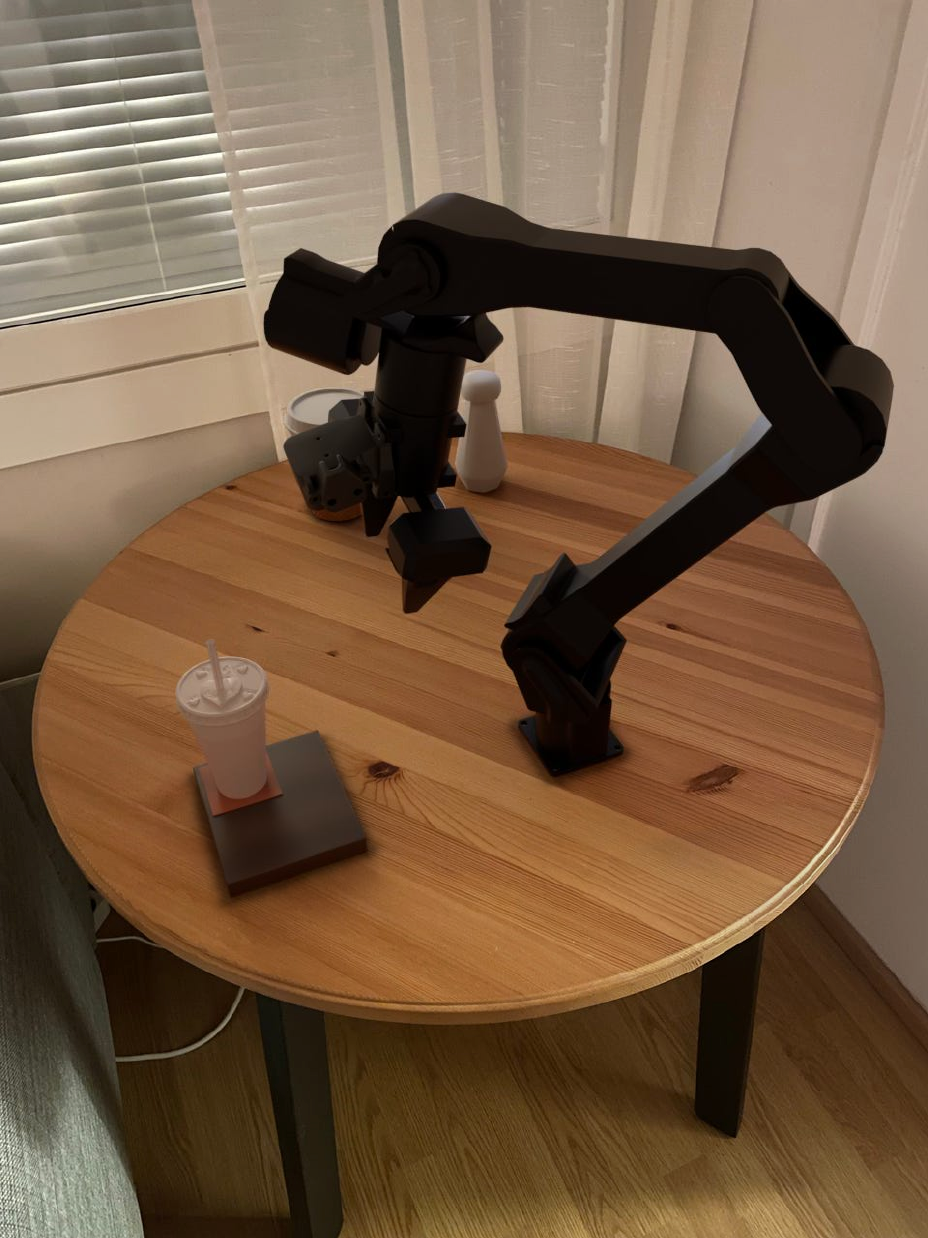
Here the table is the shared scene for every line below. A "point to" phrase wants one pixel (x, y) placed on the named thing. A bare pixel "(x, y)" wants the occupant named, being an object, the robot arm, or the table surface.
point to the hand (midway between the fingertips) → (390, 572)
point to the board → (283, 817)
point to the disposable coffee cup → (312, 413)
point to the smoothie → (228, 719)
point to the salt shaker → (481, 434)
